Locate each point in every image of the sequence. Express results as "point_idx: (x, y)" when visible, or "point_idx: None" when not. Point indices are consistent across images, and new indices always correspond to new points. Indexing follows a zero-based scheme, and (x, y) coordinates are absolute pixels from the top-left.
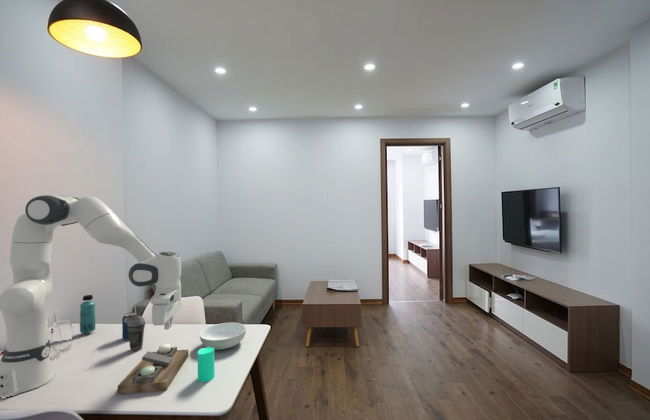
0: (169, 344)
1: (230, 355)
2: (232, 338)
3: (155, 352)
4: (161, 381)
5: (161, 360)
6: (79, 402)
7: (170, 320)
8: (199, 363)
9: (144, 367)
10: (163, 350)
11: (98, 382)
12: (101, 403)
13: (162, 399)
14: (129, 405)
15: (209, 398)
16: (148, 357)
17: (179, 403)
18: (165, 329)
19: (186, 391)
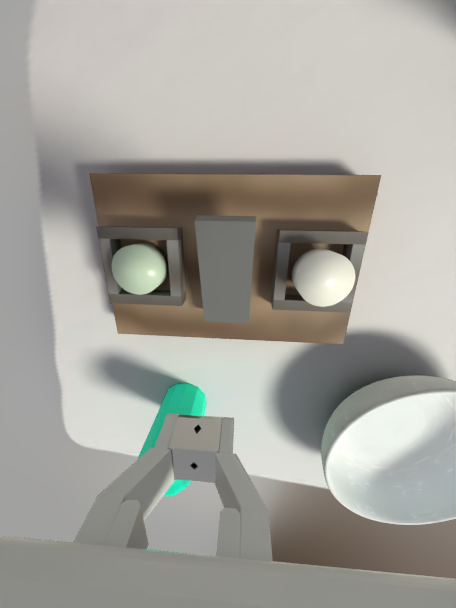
0: (336, 298)
1: (297, 439)
2: (330, 490)
3: (363, 211)
4: (120, 319)
5: (207, 297)
6: (57, 41)
7: (225, 500)
8: (150, 430)
9: (148, 251)
10: (295, 279)
11: (193, 24)
12: (60, 147)
13: (92, 324)
14: (61, 248)
15: (101, 416)
16: (201, 247)
17: (80, 365)
18: (169, 417)
19: (126, 369)
